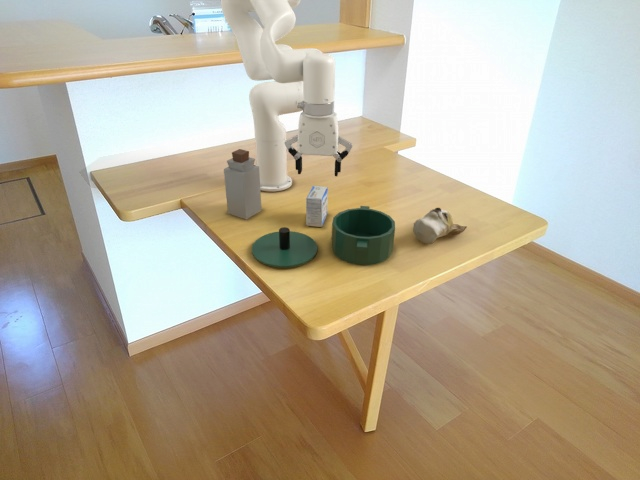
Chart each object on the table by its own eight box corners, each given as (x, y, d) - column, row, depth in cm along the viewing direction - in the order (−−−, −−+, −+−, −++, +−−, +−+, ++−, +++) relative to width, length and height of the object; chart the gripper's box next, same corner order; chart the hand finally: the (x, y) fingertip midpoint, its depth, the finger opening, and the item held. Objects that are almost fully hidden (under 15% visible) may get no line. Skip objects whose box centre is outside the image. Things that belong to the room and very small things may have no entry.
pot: (327, 269, 113) (328, 241, 109) (335, 226, 130) (336, 201, 126) (392, 274, 111) (396, 246, 107) (391, 230, 129) (394, 205, 125)
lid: (244, 267, 113) (243, 244, 110) (260, 232, 127) (258, 212, 123) (313, 272, 111) (313, 250, 108) (320, 237, 125) (321, 216, 122)
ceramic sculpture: (405, 207, 121) (440, 193, 130) (400, 236, 125) (434, 222, 134) (439, 223, 114) (474, 208, 124) (433, 254, 119) (466, 237, 128)
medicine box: (321, 228, 129) (322, 199, 125) (305, 226, 130) (305, 197, 126) (327, 214, 136) (328, 186, 131) (312, 212, 137) (312, 185, 132)
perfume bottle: (246, 219, 133) (241, 158, 123) (227, 213, 136) (222, 153, 126) (261, 210, 138) (258, 150, 128) (243, 204, 141) (238, 145, 131)
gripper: (280, 110, 114) (283, 177, 123) (353, 113, 113) (350, 181, 121) (286, 102, 121) (288, 166, 129) (354, 105, 119) (351, 169, 128)
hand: (318, 173), depth 125 cm, fingers open, 9 cm apart
